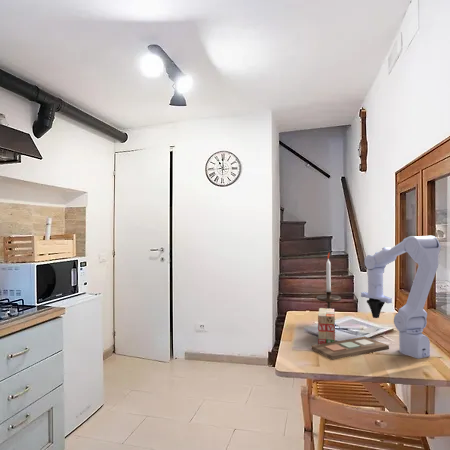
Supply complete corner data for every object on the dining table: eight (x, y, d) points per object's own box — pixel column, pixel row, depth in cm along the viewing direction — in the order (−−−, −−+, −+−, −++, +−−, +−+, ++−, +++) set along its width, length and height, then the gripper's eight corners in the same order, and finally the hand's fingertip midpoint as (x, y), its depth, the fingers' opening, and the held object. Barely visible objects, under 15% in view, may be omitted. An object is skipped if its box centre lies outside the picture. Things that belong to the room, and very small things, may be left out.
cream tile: (374, 349, 137) (374, 342, 137) (364, 351, 135) (364, 344, 135) (364, 345, 142) (364, 339, 142) (354, 347, 140) (354, 340, 140)
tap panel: (388, 352, 135) (388, 345, 135) (332, 363, 125) (332, 356, 125) (364, 342, 147) (364, 336, 147) (311, 352, 136) (311, 345, 136)
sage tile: (360, 352, 135) (360, 345, 135) (349, 354, 133) (349, 347, 133) (350, 347, 139) (350, 341, 139) (340, 349, 137) (340, 343, 137)
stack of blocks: (320, 330, 162) (320, 303, 162) (335, 331, 160) (334, 303, 160) (318, 346, 142) (317, 314, 142) (335, 347, 140) (334, 315, 140)
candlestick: (344, 331, 161) (343, 252, 161) (320, 332, 161) (319, 253, 161) (337, 324, 172) (336, 251, 172) (314, 325, 172) (313, 251, 172)
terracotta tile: (345, 355, 132) (345, 348, 132) (334, 357, 130) (334, 350, 130) (335, 350, 136) (335, 344, 136) (325, 352, 135) (324, 346, 135)
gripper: (355, 282, 154) (355, 314, 154) (382, 288, 141) (382, 323, 141) (367, 281, 157) (368, 312, 157) (395, 286, 143) (395, 320, 143)
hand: (375, 317), depth 149 cm, fingers closed
